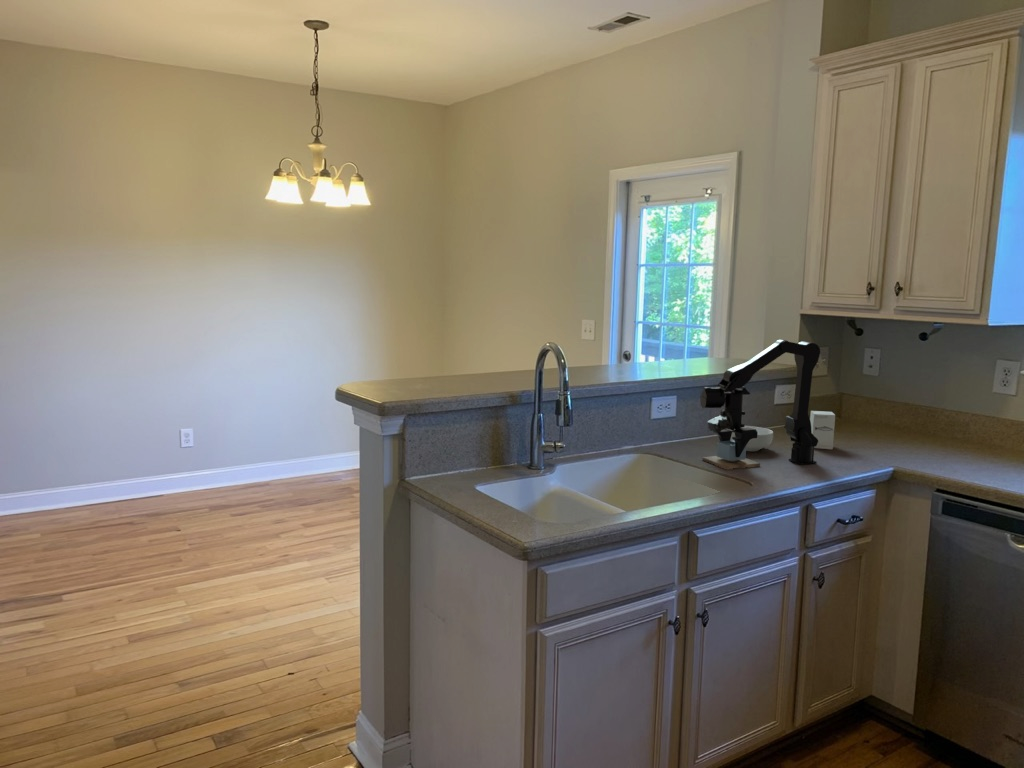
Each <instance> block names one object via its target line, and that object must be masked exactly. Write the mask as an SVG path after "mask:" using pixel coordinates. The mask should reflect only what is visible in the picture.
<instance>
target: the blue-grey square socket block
mask: <svg viewBox="0 0 1024 768" xmlns="http://www.w3.org/2000/svg"><path fill="white" fill-rule="evenodd" d="M716 449H717V450H716V456H717V457H720V458H722V459H725V460H728V461H734V460H744V459H745V458H747V457H746V453H747V451H746V446H745V448H744V450H743V451H742V453H741V455H740V457H736V453H735V441H734V440H731V441H720V440H719V441H717V447H716Z"/></svg>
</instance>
